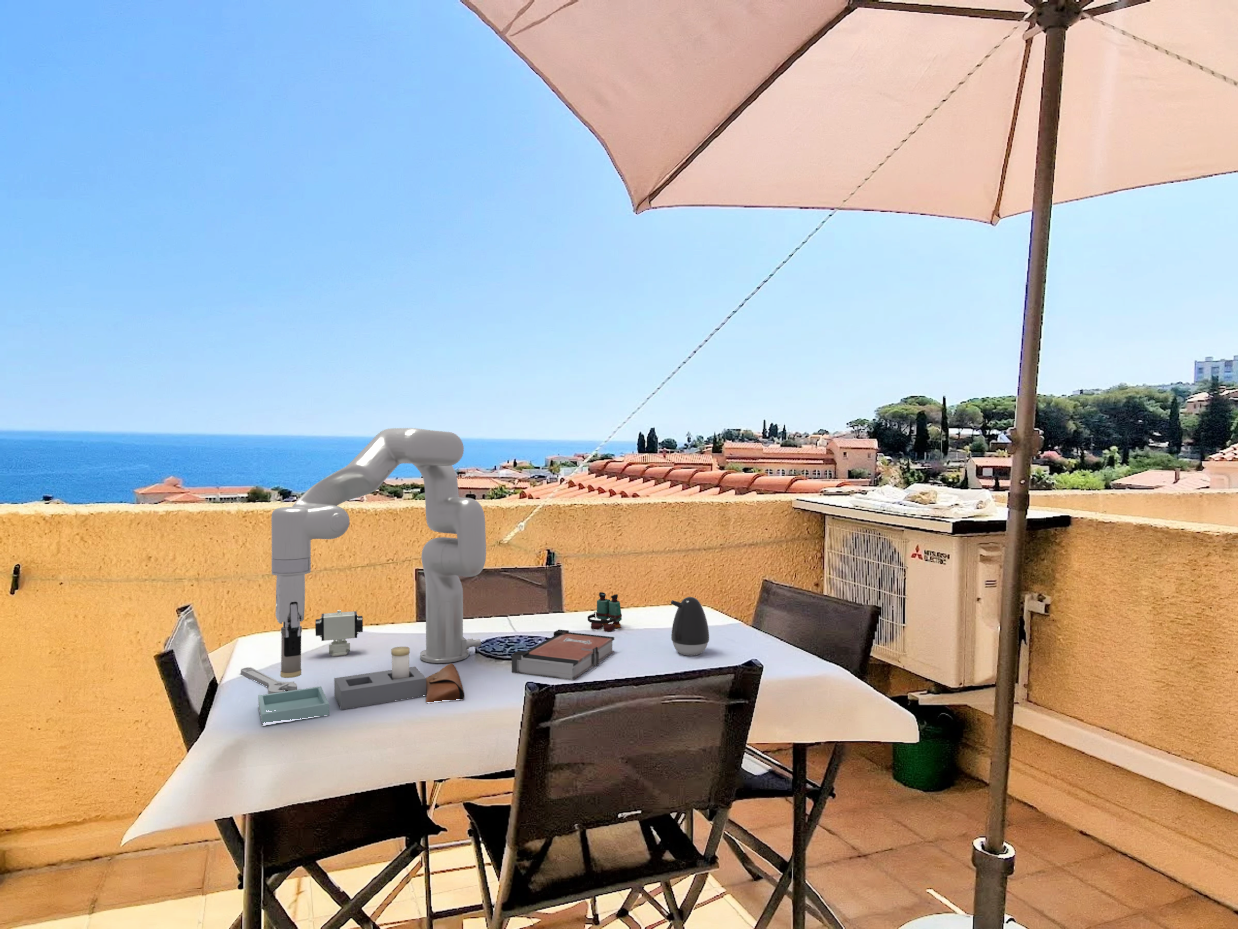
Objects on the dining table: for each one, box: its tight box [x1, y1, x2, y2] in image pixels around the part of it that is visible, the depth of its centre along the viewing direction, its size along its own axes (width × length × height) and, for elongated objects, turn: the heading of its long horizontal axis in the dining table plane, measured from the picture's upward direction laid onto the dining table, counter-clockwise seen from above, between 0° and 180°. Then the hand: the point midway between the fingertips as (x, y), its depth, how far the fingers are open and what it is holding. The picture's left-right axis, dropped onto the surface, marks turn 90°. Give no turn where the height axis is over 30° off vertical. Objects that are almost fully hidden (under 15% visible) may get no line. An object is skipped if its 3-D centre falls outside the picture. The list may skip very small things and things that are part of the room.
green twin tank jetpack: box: [587, 591, 623, 632], centre depth 226 cm, size 9×11×10 cm
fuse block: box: [333, 666, 426, 710], centre depth 166 cm, size 18×10×4 cm, turn 119°
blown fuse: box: [279, 625, 303, 679], centre depth 156 cm, size 4×4×10 cm
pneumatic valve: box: [314, 609, 364, 658], centre depth 199 cm, size 6×12×12 cm, turn 111°
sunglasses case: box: [425, 662, 465, 703], centre depth 171 cm, size 18×7×7 cm, turn 18°
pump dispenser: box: [670, 596, 710, 657], centre depth 200 cm, size 10×10×15 cm
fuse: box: [390, 646, 411, 680], centre depth 168 cm, size 4×4×10 cm
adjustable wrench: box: [240, 666, 298, 694], centre depth 176 cm, size 25×6×2 cm, turn 43°
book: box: [511, 629, 615, 681], centre depth 192 cm, size 26×18×5 cm
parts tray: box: [257, 685, 330, 723], centre depth 156 cm, size 13×13×2 cm
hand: (291, 652), depth 156 cm, fingers closed on blown fuse, 3 cm apart
